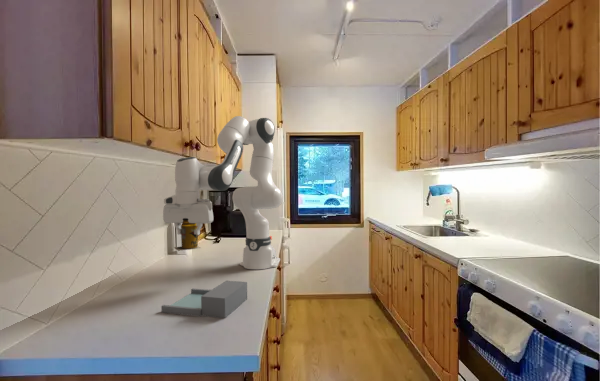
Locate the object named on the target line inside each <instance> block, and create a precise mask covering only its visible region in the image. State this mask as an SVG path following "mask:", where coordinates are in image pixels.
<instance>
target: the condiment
mask: <svg viewBox="0 0 600 381" xmlns="http://www.w3.org/2000/svg"><path fill="white" fill-rule="evenodd" d="M180 227H181V234H180V235H181V236H180V238H181V239H180V241H181V246H174V247H173V248H174V249H175V250H176V251H178V252H179V251H186V250H187V251H188V250H196V249H197V250H198V249H201V247H200V246H198V243H199V242H198V241H199V237H198V236H199V235H194V230H196V229H197V227H198V226H196V223H189V222H188V218H183V222H182V223H181V225H180Z"/></svg>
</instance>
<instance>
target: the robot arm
mask: <svg viewBox="0 0 600 381" xmlns="http://www.w3.org/2000/svg"><path fill="white" fill-rule="evenodd" d="M275 133H276V128H275V124H274V122H273V121H272V119H270V118H268V117H260V118H257V119H252V120H249V121H248V119H247V118H245V117H243V116H241V115H237V116H234V117H233V118H232V117H231V119H230V120H229V121H228V122H226V124H225V125H224V126H223V128H222V129H221V131H220V132H219V134H218V136H217V145H218V147H219V148H220V149H221V151H223V152H224V153H225V156H224V158H223V161H222V162H221V163H219V164H218V165H213V166H212V165H211V166H207V165H204V164H203V163H201V162H200V161H199V160H198V158H197V157H196V156H195V157H193V156H189V157H181V158H178V159H177V161H176V162H175V168H174V181H175V184H176V187H175V192H174V193H175V194H173V195H171V196H168V197H166V198H163V204H165V205H164V206H163V212H162V213H163V215H162V217H163V218H162V219H163V222H165V224H166V223H168V224H169V223H170V224H172V223H173V225H174V227H175V230H177V235H181V225H182V222H183V218H188V222H189V223H196V226H198V227H197V229H196V230H194V235H198V236H200V234H201V229H202V227H203V224H210V223H213V222H214V212H213V202H212V201H211V200H210V199H208V198H201V197H200V196H201V195H200V194H201V193H200V190H203V191H219V192H224V191H227V190H228V189H229V188H230V187H231V185H232V184H233V182H234V175H235V172H236V170H237V167H238V165H239V163H240V160H241V157H242V155H243V152H244V146H249V145H252V147H253V149H252V150H253V151H252V153H251V154H252V155H251V160H250V167H249V175H250V177H251V178H253V179H254V180H255V181H257V185H256V186H242V187H238V188H236V189H235V190H234V191H233V193H232V202H233V205H234V206H235V207H236V208H237V209H239V211H240V212H241V213H242V215H243V218H244V221H245V228H246V237H245V247H244V248H243V250H242V255H243V256H242V262H240V266H242V267H243V268H244V269H248V270H264V269H265V270H266V269H269V268H270V269H272V268H277V267H278V265H279V264H280V261H281V258H280V257H278V256H277V253H276V248H274V246H273V245H272V240H273V238H272V237H273V236H271V235H270V221H269V220H268V218H266V217H265V216H263V215H262V214H261V213H260V210H272V209H276V208H279V207H280V206H281V204H282V202H283V198H284V196H283V193H282V191H281V189H280V187H278V186H277V185H276V183H275V182H274V179H273V166H274V161H275V160H274V158H275V157H274V156H275V154H274V153H275V150H274V145H273V143H272V141H273V140H274V136H275Z"/></svg>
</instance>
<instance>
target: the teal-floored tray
mask: <svg viewBox="0 0 600 381" xmlns="http://www.w3.org/2000/svg"><path fill="white" fill-rule="evenodd" d="M247 300H248V282H247V281H239V280H238V281H237V280H225V281H223V282H222V283H220V284H218V285H217V286H216V287H214V288H212V289H205V288H191V289H190V293H189V294H187V295H186V296H184V297H182V298H180V299H179V300H177V301H175V302H173V303H172V304H170V305H168V304H162V305H161V306H160V308H161V313H165V314H174V315H175V314H176V315H184V316H194V317H202V316H203V317H209V318H211V317H212V318H219V319H220V318H221V319H226V318H227V317H228V316H230V315H231V314H232V313H233V312H234V311H236V310H237V309H238V308H239V307H240V306H241V305H242V304H243V303H245V302H246V301H247Z"/></svg>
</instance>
